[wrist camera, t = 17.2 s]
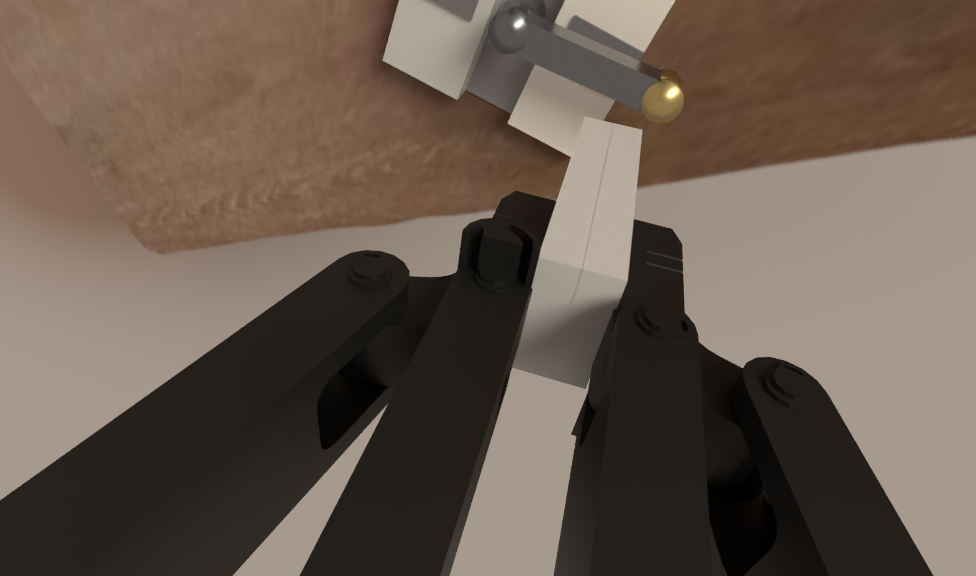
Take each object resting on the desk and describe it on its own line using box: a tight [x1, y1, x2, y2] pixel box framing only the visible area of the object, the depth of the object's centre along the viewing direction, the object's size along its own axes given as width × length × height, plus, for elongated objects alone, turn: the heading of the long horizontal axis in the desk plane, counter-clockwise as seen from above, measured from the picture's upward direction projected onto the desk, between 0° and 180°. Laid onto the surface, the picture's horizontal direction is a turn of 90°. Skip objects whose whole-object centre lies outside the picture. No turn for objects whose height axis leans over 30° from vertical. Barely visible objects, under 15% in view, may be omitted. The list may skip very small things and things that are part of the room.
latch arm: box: [487, 0, 684, 123], centre depth 34 cm, size 12×2×6 cm, turn 71°
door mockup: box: [383, 0, 675, 157], centre depth 36 cm, size 16×14×3 cm
